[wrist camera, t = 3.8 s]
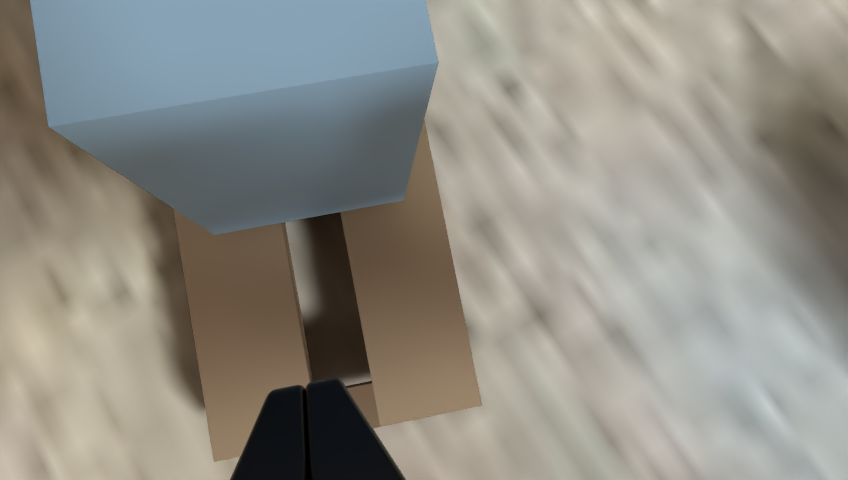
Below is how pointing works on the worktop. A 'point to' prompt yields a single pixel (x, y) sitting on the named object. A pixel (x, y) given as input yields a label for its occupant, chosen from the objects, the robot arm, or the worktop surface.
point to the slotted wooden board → (377, 303)
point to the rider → (242, 100)
